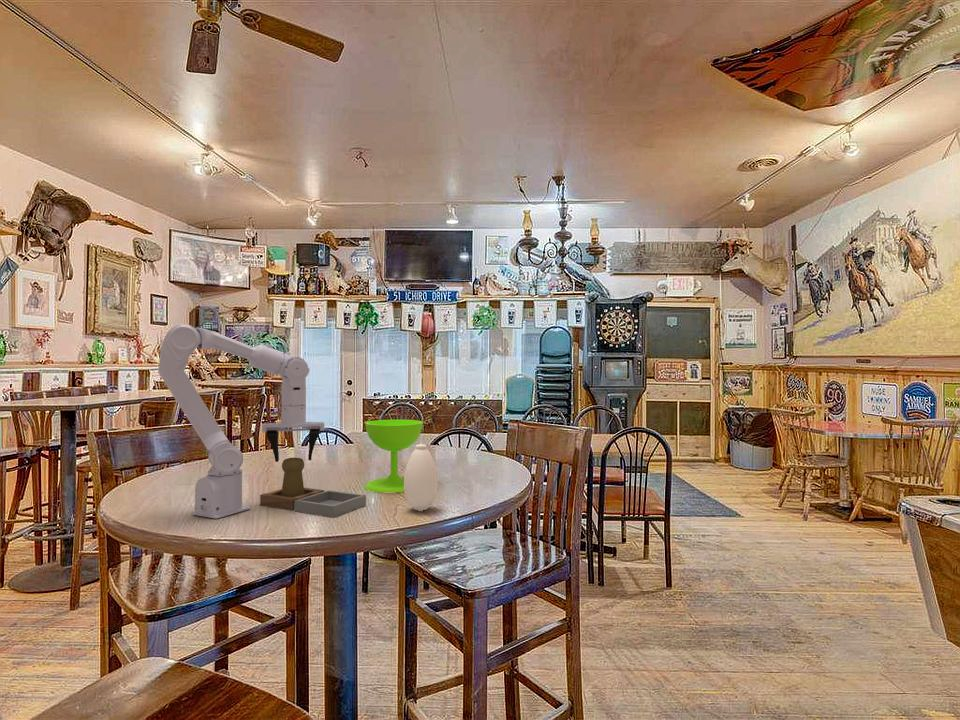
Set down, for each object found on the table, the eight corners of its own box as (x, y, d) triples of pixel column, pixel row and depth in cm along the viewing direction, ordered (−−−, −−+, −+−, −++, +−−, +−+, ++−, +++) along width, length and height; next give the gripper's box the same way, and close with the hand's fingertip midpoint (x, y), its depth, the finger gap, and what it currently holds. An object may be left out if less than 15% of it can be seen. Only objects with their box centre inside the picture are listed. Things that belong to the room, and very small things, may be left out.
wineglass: (358, 492, 143) (358, 425, 143) (372, 480, 159) (372, 419, 159) (417, 493, 142) (418, 425, 142) (426, 480, 158) (426, 419, 158)
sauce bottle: (444, 508, 127) (444, 432, 127) (424, 516, 120) (424, 436, 120) (417, 504, 131) (418, 430, 131) (397, 511, 124) (397, 434, 124)
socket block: (292, 510, 125) (293, 499, 125) (260, 505, 129) (260, 494, 129) (324, 500, 134) (324, 490, 134) (292, 495, 139) (292, 486, 139)
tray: (333, 517, 119) (333, 506, 119) (294, 511, 124) (294, 500, 124) (365, 505, 130) (366, 495, 130) (328, 500, 135) (328, 490, 135)
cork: (300, 506, 129) (301, 460, 129) (275, 505, 129) (276, 460, 129) (309, 499, 135) (309, 456, 135) (285, 499, 135) (285, 455, 135)
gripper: (324, 403, 138) (324, 456, 138) (264, 404, 134) (263, 459, 134) (324, 405, 131) (324, 461, 131) (260, 406, 127) (260, 464, 127)
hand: (293, 460), depth 132 cm, fingers open, 7 cm apart
